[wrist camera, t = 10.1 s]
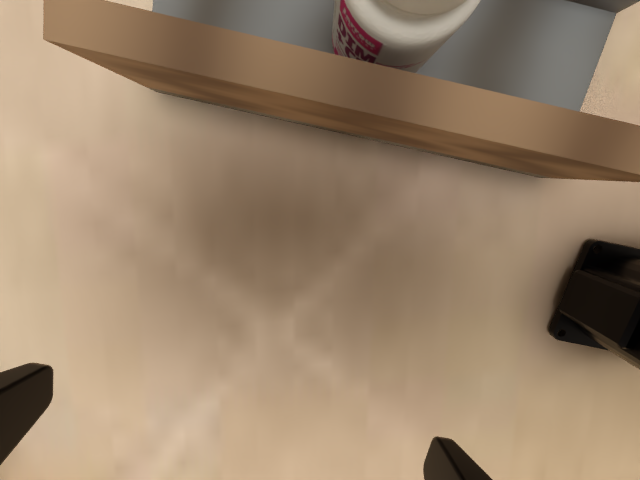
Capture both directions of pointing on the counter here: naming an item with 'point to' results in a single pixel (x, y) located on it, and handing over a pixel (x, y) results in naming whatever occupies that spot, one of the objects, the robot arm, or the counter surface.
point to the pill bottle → (396, 29)
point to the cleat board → (379, 76)
